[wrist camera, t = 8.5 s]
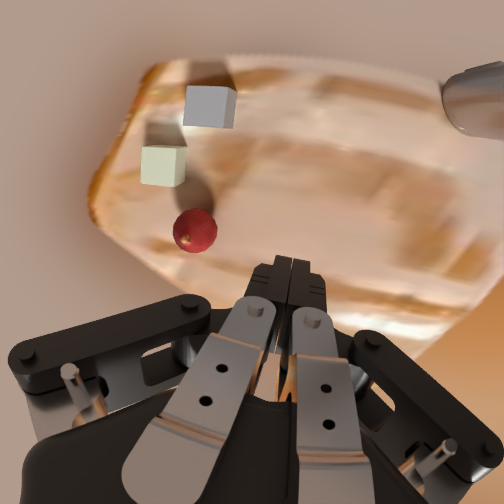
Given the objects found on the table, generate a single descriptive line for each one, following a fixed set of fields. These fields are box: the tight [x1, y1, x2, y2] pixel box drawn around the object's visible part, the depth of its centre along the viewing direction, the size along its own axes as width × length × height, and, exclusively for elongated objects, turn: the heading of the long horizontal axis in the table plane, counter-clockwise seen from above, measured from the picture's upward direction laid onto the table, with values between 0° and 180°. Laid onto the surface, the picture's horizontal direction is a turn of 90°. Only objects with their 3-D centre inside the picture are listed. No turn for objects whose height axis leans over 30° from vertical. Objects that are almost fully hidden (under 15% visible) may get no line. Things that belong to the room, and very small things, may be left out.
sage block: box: [141, 145, 187, 187], centre depth 37 cm, size 5×5×4 cm
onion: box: [173, 208, 217, 253], centre depth 38 cm, size 6×6×8 cm
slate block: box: [183, 86, 237, 128], centre depth 33 cm, size 5×5×5 cm
